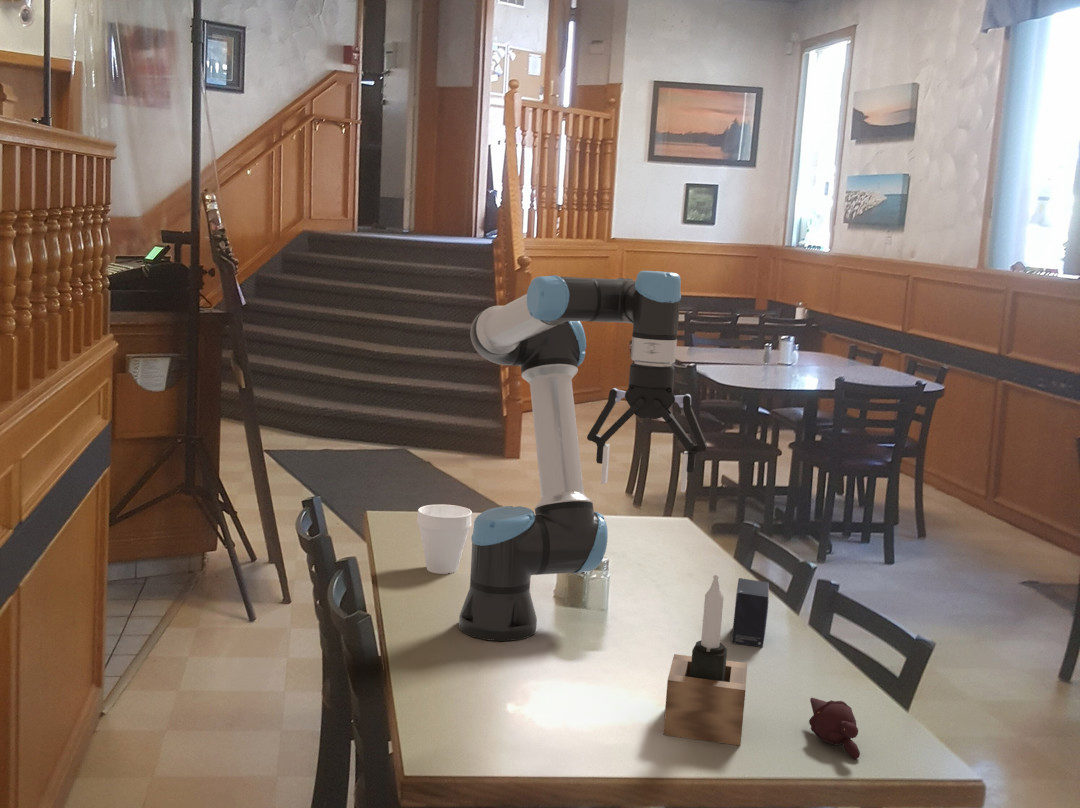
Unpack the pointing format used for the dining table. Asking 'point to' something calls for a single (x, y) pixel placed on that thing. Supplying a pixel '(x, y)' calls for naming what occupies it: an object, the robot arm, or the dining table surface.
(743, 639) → the small box
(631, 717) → the dining table surface
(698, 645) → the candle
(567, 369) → the robot arm
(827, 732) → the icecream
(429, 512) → the cup
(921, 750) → the dining table surface
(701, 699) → the well block
